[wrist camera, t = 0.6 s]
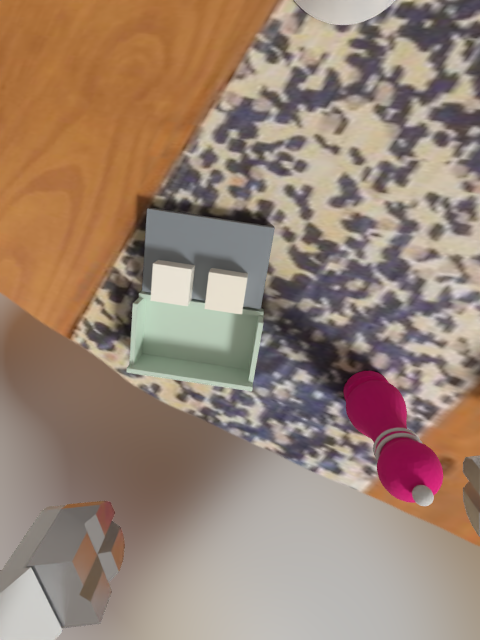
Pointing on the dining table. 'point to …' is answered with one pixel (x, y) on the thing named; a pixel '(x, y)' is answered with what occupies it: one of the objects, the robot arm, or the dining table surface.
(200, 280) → the slate plate
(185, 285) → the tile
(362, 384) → the pepper mill
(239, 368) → the bin
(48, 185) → the dining table surface
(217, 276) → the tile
